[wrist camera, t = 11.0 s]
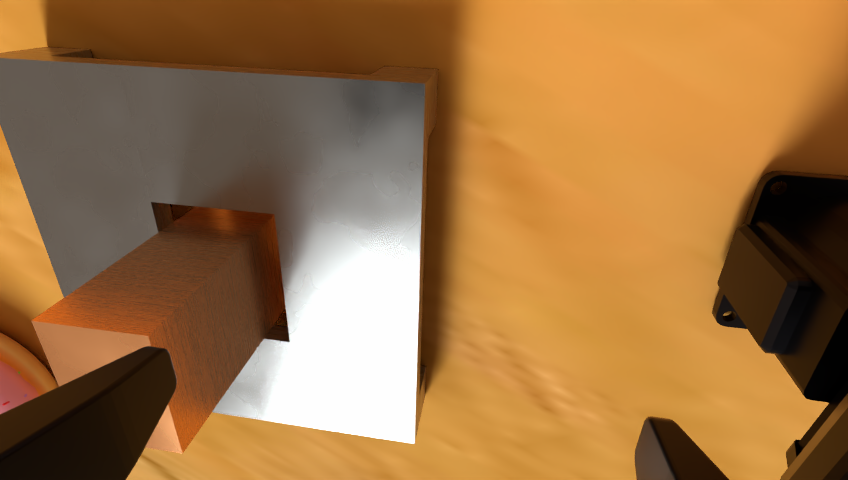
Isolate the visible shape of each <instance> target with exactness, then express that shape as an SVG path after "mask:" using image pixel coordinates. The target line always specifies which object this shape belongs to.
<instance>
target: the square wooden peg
mask: <svg viewBox="0 0 848 480" xmlns="http://www.w3.org/2000/svg"><path fill="white" fill-rule="evenodd" d="M285 308H286V306H285V298H284V289H283V281H282V273H281V265H280V256H279V248H278V240H277V232H276V223H275V215H274V214H268V213H258V212H247V211H237V210H227V209H217V208H207V207H197V206H196V207H194V208H193V209H191V210H190V211H188V212H187V213H186V214H184V215H183V216H181V217H180V218H178V219H177V220H175V221H174V222H173V223H171V224H170V225H168V226H167V227H165V228H164V229H163V230H161V231H160V232H158V233H157V234H155V235H154V236H152V237H151V238H150V239H148V240H147V241H145V242H144V243H142V244H141V245H140V246H138V247H137V248H135V249H134V250H132V251H131V252H129V253H128V254H127V255H125V256H124V257H122V258H121V259H119V260H118V261H116V262H115V263H114V264H112V265H111V266H109V267H108V268H106V269H105V270H104V271H102V272H101V273H99V274H98V275H96V276H95V277H93V278H92V279H91V280H89V281H88V282H86V283H85V284H83V285H82V286H81V287H79V288H78V289H76V290H75V291H73V292H72V293H70V294H69V295H68V296H66V297H65V298H63V299H62V300H60V301H59V302H58V303H56V304H55V305H53V306H52V307H50V308H49V309H47V310H46V311H45V312H43V313H42V314H40V315H39V316H37V317H36V318H35V319H33V320H32V321H31V322H32V324H33V326H34V329H35V331H36V333H37V336H38V338H39V341H40V343H41V345H42V348H43V350H44V352H45V355H46V357H47V359H48V362H49V364H50V367H51V369H52V371H53V374H54V376H55V378H56V381H57V383H58V385H59V386H61V385H64V384H66V383H68V382H70V381H72V380H74V379H76V378H78V377H81V376H83V375H85V374H87V373H89V372H91V371H93V370H96V369H98V368H100V367H102V366H104V365H106V364H108V363H110V362H113V361H115V360H117V359H119V358H121V357H123V356H125V355H128V354H130V353H132V352H134V351H136V350H138V349H140V348H143V347H146V346H152V347H159V348H165V349H167V350H168V352H169V353H170V356H171V360H172V363H173V367H174V371H175V374H176V378H177V385H176V389H175V392H174V394H173V396H172V398H171V400H170V402H169V404H168V405H167V407H166V409H165V411H164V413H163V415H162V417H161V419H160V420H159V422H158V424H157V426H156V428H155V430H154V432H153V433H152V435H151V437H150V439H149V441H148V443H147V445H146V448H152V449H158V450H165V451H171V452H177V453H183V452H184V451H185V449H186V448H187V446H188V445H189V444H190V442H191V441H192V439H193V438H194V437H195V435H196V434H197V432H198V431H199V430H200V428H201V427H202V425H203V424H204V422H205V421H206V420H207V418H208V417H209V415H210V414H211V413H212V411H213V410H214V408H215V407H216V406H217V404H218V403H219V401H220V400H221V399H222V397H223V396H224V394H225V393H226V391H227V390H228V389H229V387H230V386H231V384H232V383H233V382H234V380H235V379H236V377H237V376H238V375H239V373H240V372H241V370H242V369H243V367H244V366H245V365H246V363H247V362H248V360H249V359H250V358H251V356H252V355H253V353H254V352H255V351H256V349H257V348H258V346H259V345H260V343H261V342H262V341H263V339H264V338H265V336H266V335H267V334H268V332H269V331H270V329H271V328H272V327H273V325H274V324H275V322H276V321H277V319H278V318H279V317H280V315H281V314H282V312H283V311H284V310H285Z"/></svg>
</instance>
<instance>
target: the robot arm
mask: <svg viewBox="0 0 848 480" xmlns="http://www.w3.org/2000/svg"><path fill="white" fill-rule="evenodd" d="M780 181H782V184H781V186H780V188H779V189H777V190H775V191H771V187H772V185H773V184H774V183H776V182H780ZM718 286H719V287H720V290H719V293H718V296H717V299H716V301H715V304H714V307H713V311H712V314H713V316H714V318H715V319H716V321H717V323H719V324H720V325H722V326H726V327H735V328H744V329H748V330H749V332H750V333H751V335H752V336H753V338H754V339H755V341H756V342H757V344H758V345H759V346H760V348H761V349H762V350H763V351H764V352H765V353H771V354H775V355H776V357H777V358H778V360H779V361H780V362H781V364H782V365H783V367H784V368H785V369H786V371H787V372H788V374H789V375H790V377H791V378H792V379H793V381H794V382H795V384H796V385H797V387H798V388H799V389H800V391H801V392H802V394H803V395H804V396H805V398H807V399H810V400H815V401H823V402H828V403H829V404H828V406H827V407H826V408H825V409H824V411H823V412H822V413H821V414H820V416H819V417H818V418H817V420H816V421H815V422H814V423H813V425H812V426H811V427H810V429H809V430H808V431H807V432H806V434H805V435H804V436H803V437H802V439H801V440H795V441H794V442H793V444H792V445H791V446H790V447H789V449H788V450H787V451H786V458H787V465H788V469H787V470H786V471H785V473H784V474H783V475H782V476H781V479H780V480H848V176H839V175H826V174H813V173H800V172H787V171H772V172H770V173H768V174H766V175H765V176H763V177H762V178H761V180H760V181H759V183H758V186H757V189H756V191H755V194H754V197H753V200H752V202H751V205H750V208H749V211H748V213H747V216H746V219H745V222H744V224H743V225H741V226H740V227H739V228H738V229H737V230H736V232H735V235H734V238H733V241H732V243H731V246H730V249H729V252H728V255H727V257H726V260H725V263H724V266H723V269H722V271H721V274H720V277H719V280H718ZM727 311H732V313H731V314H729V315H727V316H723V314H724V313H725V312H727ZM176 385H177V378H176V374H175V371H174V367H173V363H172V360H171V356H170V353H169V352H168V350H167V349H165V348H159V347H152V346H146V347H143V348H140V349H138V350H136V351H134V352H132V353H130V354H128V355H125V356H123V357H121V358H119V359H117V360H115V361H113V362H110V363H108V364H106V365H104V366H102V367H100V368H98V369H96V370H93V371H91V372H89V373H87V374H85V375H83V376H81V377H78V378H76V379H74V380H72V381H70V382H68V383H66V384H64V385H61V386H59V387H57V388H55V389H53V390H51V391H49V392H46V393H44V394H42V395H40V396H38V397H36V398H34V399H32V400H29V401H27V402H25V403H23V404H21V405H19V406H17V407H14V408H12V409H10V410H8V411H6V412H4V413H2V414H0V480H126V478H127V477H128V475H129V474H130V472H131V471H132V469H133V467H134V466H135V464H136V463H137V461H138V459H139V457H140V456H141V454H142V452H143V450H144V448H145V447H146V445H147V443H148V441H149V439H150V437H151V435H152V433H153V432H154V430H155V428H156V426H157V424H158V422H159V420H160V419H161V417H162V415H163V413H164V411H165V409H166V407H167V405H168V404H169V402H170V400H171V398H172V396H173V394H174V392H175V389H176ZM635 468H636V476H637V480H729V479H728V478H727V477H726V476H725V475H724V474H723V473H722V472H721V470H720V469H719V468H718V467H717V466H716V465H715V464H714V463H713V462H712V461H711V460H710V459H709V458H708V457H707V456H706V454H705V453H704V452H703V451H702V450H701V449H700V448H699V447H698V446H697V445H696V444H695V443H694V442H693V441H692V439H691V438H690V437H689V436H688V435H687V434H686V433H685V432H684V431H683V430H682V429H681V428H680V427H679V426H678V424H677V423H675V422H674V421H673V420H671V419H665V418H658V417H648V418H646V420H645V421H644V424H643V427H642V430H641V433H640V437H639V440H638V443H637V446H636V449H635Z"/></svg>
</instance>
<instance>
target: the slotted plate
mask: <svg viewBox="0 0 848 480" xmlns="http://www.w3.org/2000/svg"><path fill="white" fill-rule="evenodd" d="M437 90H438V69H429V68H411V67H394V66H384V67H382V68H380V69H379V70H377V71H376V72H374V73H372V74H371V75H367V74H350V73H333V72H316V71H299V70H282V69H265V68H248V67H231V66H214V65H197V64H180V63H163V62H146V61H129V60H112V59H95V58H93V56H92V52H91V49H74V48H56V47H42V48H35V49H27V50H20V51H12V52H5V53H0V125H1V128H2V130H3V133H4V136H5V139H6V141H7V144H8V147H9V149H10V152H11V155H12V158H13V160H14V163H15V166H16V168H17V171H18V174H19V177H20V179H21V182H22V185H23V187H24V190H25V193H26V196H27V198H28V201H29V204H30V206H31V209H32V212H33V215H34V217H35V220H36V223H37V225H38V228H39V231H40V234H41V236H42V239H43V242H44V245H45V247H46V250H47V253H48V255H49V258H50V261H51V264H52V266H53V269H54V272H55V274H56V277H57V280H58V283H59V285H60V288H61V291H62V293H63V296H64V298H65V297H66V296H68V295H69V294H70V293H72V292H73V291H75V290H76V289H78V288H79V287H81V286H82V285H83V284H85V283H86V282H88V281H89V280H91V279H92V278H93V277H95V276H96V275H98V274H99V273H101V272H102V271H104V270H105V269H106V268H108V267H109V266H111V265H112V264H114V263H115V262H116V261H118V260H119V259H121V258H122V257H124V256H125V255H127V254H128V253H129V252H131V251H132V250H134V249H135V248H137V247H138V246H140V245H141V244H142V243H144V242H145V241H147V240H148V239H150V238H151V237H152V236H154V235H155V234H157V233H158V232H160V231H161V230H163V229H164V228H165V227H167V226H168V225H170V224H171V223H173V217H172V213H171V208H170V204H177V205H187V206H197V207H207V208H217V209H227V210H237V211H247V212H258V213H268V214H274V215H275V223H276V232H277V240H278V248H279V256H280V265H281V273H282V281H283V289H284V298H285V306H286V314H287V322H288V327H287V326H279V325H273V327H272V328H271V329H270V331H269V332H268V334H267V335H266V336H265V338H264V339H263V341H262V342H261V343H260V345H259V346H258V348H257V349H256V351H255V352H254V353H253V355H252V356H251V358H250V359H249V360H248V362H247V363H246V365H245V366H244V367H243V369H242V370H241V372H240V373H239V375H238V376H237V377H236V379H235V380H234V382H233V383H232V384H231V386H230V387H229V389H228V390H227V391H226V393H225V394H224V396H223V397H222V399H221V400H220V401H219V403H218V404H217V406H216V407H215V408H214V410H213V411H212V412H214V413H220V414H227V415H233V416H240V417H246V418H252V419H259V420H265V421H272V422H278V423H284V424H291V425H297V426H304V427H310V428H316V429H323V430H329V431H336V432H342V433H348V434H355V435H361V436H368V437H374V438H380V439H387V440H393V441H400V442H406V443H412V444H415V439H416V435H417V430H418V426H419V421H420V416H421V412H422V407H423V403H424V398H425V383H426V366H422V365H420V360H421V331H422V301H423V271H424V242H425V212H426V183H427V153H428V137H429V136H430V134H431V132H432V130H433V129H434V127H435V125H436V114H437Z"/></svg>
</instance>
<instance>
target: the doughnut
mask: <svg viewBox="0 0 848 480" xmlns="http://www.w3.org/2000/svg"><path fill="white" fill-rule="evenodd" d="M57 387H59V386H58V384H57V383H56V381H55V379H54V378H53V376H52V375H51V374H50V372H49V371H48V370H47V369H46V367H45V366H44V365H43V364H42V363H41V362H40V361H39V360H38V359H37V358H36V357H35V356H34V355H33V354H32V353H31V352H29V351H28V350H27V349H26V348H24V347H23V346H22V345H20V344H19V343H17V342H16V341H14V340H13V339H11V338H9V337H8V336H6V335H4V334H2V333H0V414H2V413H4V412H6V411H8V410H10V409H12V408H14V407H17V406H19V405H21V404H23V403H25V402H27V401H29V400H32V399H34V398H36V397H38V396H40V395H42V394H44V393H46V392H49V391H51V390H53V389H55V388H57Z"/></svg>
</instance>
